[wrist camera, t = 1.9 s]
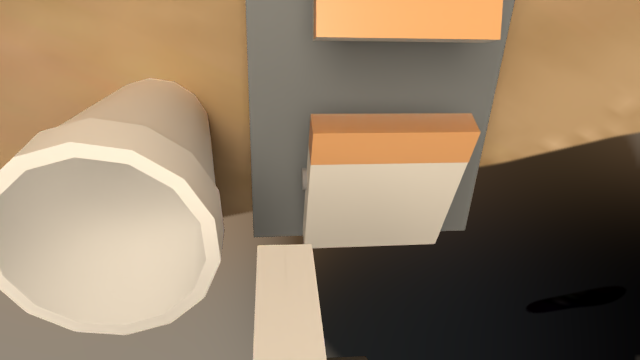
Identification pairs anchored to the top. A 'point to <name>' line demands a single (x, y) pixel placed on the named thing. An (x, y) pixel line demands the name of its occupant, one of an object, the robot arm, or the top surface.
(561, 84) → the top surface
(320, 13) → the panel
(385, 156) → the block
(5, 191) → the foam cup
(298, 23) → the switch unit
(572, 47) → the top surface
